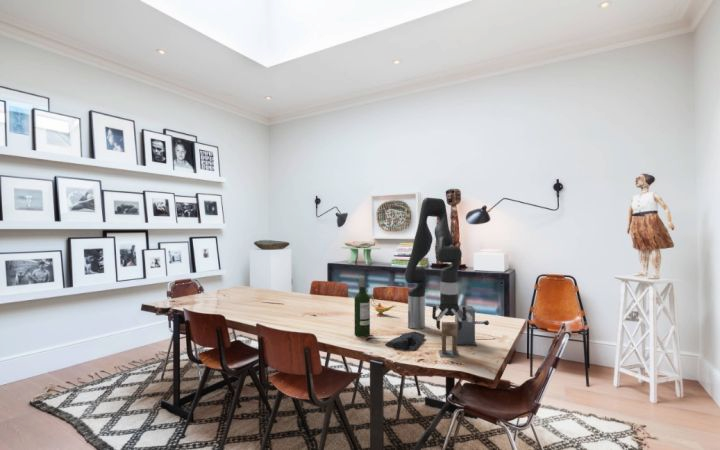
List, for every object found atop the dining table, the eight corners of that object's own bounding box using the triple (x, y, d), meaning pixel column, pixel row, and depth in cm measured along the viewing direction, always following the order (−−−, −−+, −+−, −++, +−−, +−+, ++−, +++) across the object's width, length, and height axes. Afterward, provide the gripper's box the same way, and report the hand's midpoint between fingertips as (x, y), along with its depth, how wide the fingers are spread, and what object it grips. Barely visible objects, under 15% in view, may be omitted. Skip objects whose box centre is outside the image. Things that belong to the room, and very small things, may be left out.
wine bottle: (364, 337, 183) (364, 277, 183) (351, 335, 188) (351, 276, 188) (372, 333, 190) (372, 275, 190) (359, 331, 194) (359, 274, 194)
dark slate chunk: (430, 339, 181) (430, 330, 181) (413, 353, 162) (413, 342, 162) (401, 335, 189) (401, 326, 189) (382, 347, 170) (382, 337, 170)
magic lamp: (393, 318, 222) (393, 300, 222) (367, 314, 232) (367, 296, 232) (398, 315, 227) (398, 298, 227) (373, 312, 237) (373, 295, 237)
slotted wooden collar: (442, 354, 158) (442, 324, 158) (441, 351, 162) (441, 321, 162) (456, 355, 157) (456, 324, 158) (455, 351, 161) (455, 322, 161)
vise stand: (458, 353, 160) (458, 314, 160) (452, 340, 179) (452, 305, 179) (496, 355, 158) (496, 315, 158) (487, 341, 177) (487, 306, 177)
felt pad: (440, 357, 156) (440, 356, 156) (439, 350, 164) (439, 349, 164) (459, 357, 155) (459, 356, 155) (457, 351, 163) (457, 350, 163)
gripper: (432, 293, 157) (432, 331, 157) (467, 294, 155) (467, 332, 155) (431, 290, 164) (431, 326, 164) (464, 291, 163) (464, 327, 163)
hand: (449, 329), depth 160 cm, fingers open, 8 cm apart
